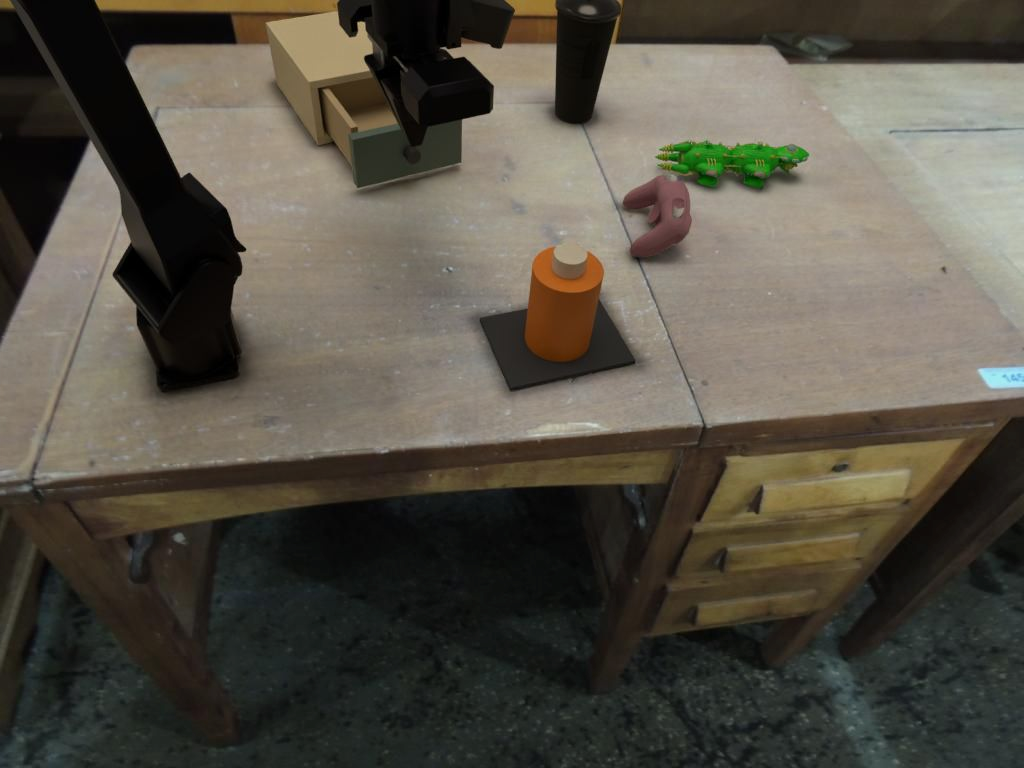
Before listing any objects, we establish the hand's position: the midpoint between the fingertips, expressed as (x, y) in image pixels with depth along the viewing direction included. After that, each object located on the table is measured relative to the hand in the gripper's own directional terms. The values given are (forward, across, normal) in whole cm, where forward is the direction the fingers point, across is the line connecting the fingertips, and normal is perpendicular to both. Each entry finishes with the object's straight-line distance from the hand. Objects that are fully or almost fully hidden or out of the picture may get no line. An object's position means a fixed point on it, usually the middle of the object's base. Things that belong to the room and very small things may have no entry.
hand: (415, 144), depth 67 cm
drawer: (+11, +18, -4) cm, 22 cm away
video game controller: (+12, -7, -24) cm, 28 cm away
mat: (+12, -17, -6) cm, 22 cm away
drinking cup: (+12, +18, -29) cm, 36 cm away
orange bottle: (+12, -17, -6) cm, 22 cm away
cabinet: (+12, +30, -3) cm, 33 cm away
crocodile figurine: (+13, -1, -39) cm, 41 cm away
